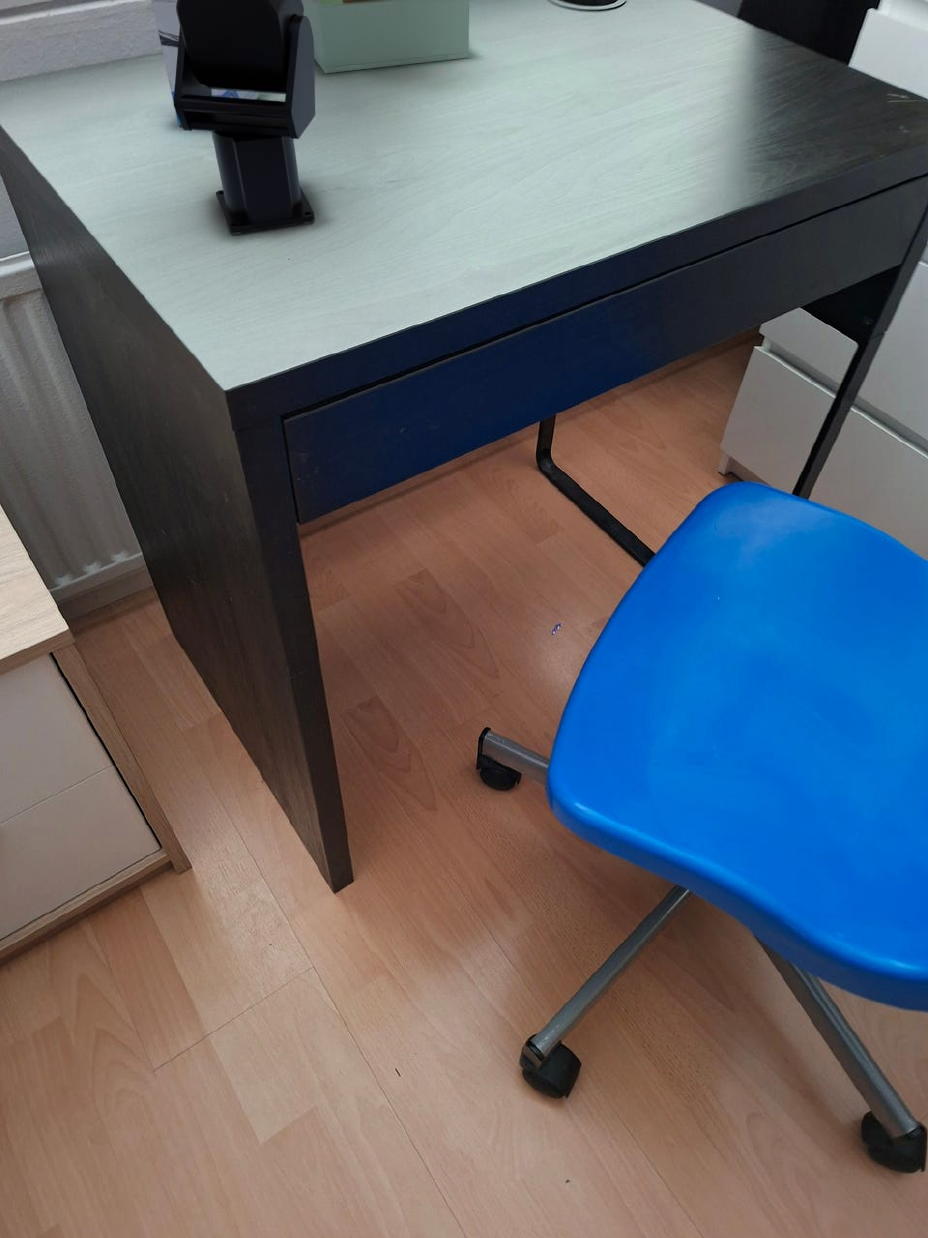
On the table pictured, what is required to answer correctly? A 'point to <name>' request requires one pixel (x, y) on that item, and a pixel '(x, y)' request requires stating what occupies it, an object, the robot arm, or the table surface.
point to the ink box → (169, 39)
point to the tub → (387, 32)
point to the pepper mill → (352, 0)
